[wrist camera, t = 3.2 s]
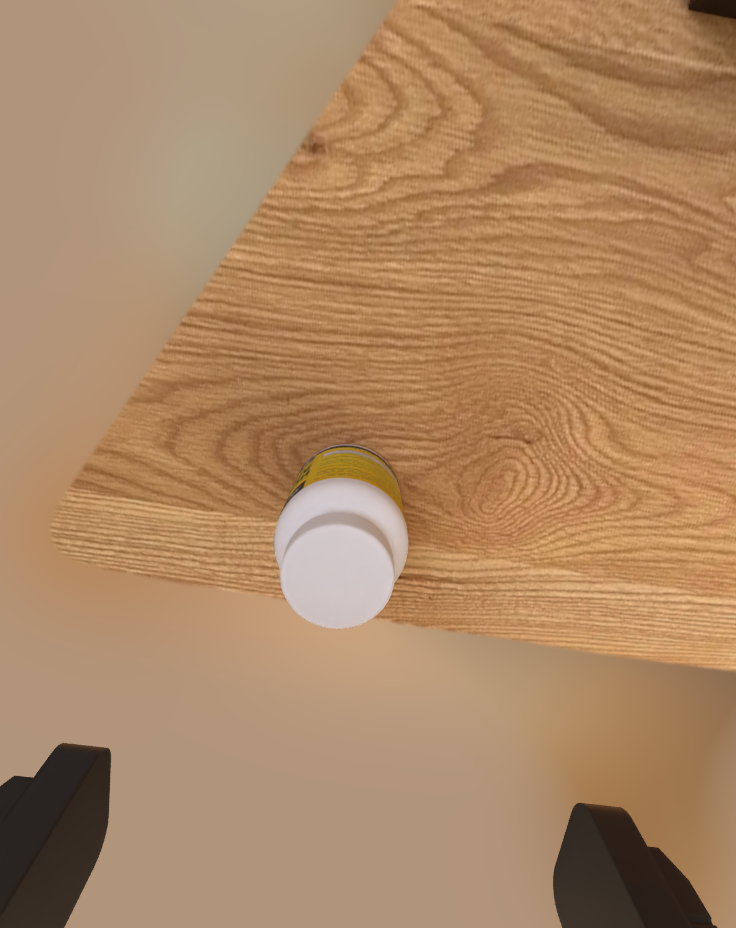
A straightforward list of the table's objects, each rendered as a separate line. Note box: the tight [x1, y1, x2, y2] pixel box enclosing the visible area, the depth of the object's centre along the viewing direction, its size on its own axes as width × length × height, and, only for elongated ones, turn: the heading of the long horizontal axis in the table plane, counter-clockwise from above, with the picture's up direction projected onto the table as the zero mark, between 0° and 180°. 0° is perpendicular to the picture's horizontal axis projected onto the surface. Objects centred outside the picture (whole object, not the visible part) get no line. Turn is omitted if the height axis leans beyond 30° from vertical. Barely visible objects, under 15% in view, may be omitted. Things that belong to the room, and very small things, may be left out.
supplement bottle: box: [274, 444, 409, 629], centre depth 23 cm, size 5×5×10 cm
